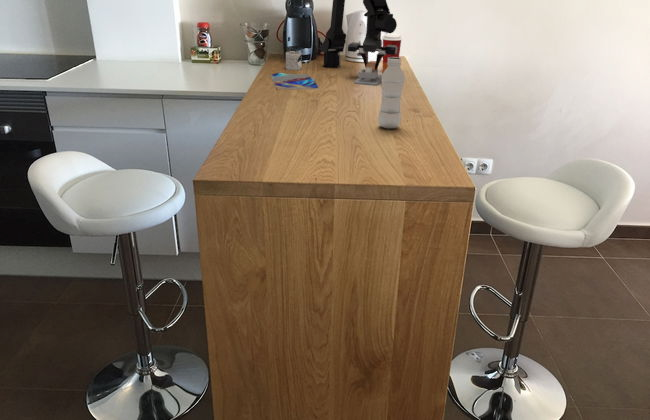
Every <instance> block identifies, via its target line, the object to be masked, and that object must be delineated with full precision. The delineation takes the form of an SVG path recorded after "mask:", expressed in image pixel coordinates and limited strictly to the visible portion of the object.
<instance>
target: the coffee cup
mask: <svg viewBox="0 0 650 420" xmlns="http://www.w3.org/2000/svg"><path fill="white" fill-rule="evenodd" d="M381 40H382V47H386V46H387V45H396V46H397V53H396V54H395V55H390V54H386V55H385V56H383V57H382V73H383V72H384V71H385V69H386V68H387V67H388V65H387V62H388V57H398V58H400V52H401V44H402V40H403V39H402V35H401V34H395V33H394V34H392V33H386V34H383V36H382V37H381Z"/></svg>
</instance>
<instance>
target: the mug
mask: <svg viewBox="0 0 650 420" xmlns="http://www.w3.org/2000/svg"><path fill="white" fill-rule="evenodd" d="M301 60H302V53H301V52H295V51H290V50H289V51H286V52H285V70H288V71H300V70H302V61H301Z"/></svg>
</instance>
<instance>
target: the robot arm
mask: <svg viewBox="0 0 650 420" xmlns="http://www.w3.org/2000/svg"><path fill="white" fill-rule="evenodd" d="M345 3H346V0H332V6H331V7H332V8H331V19H330V25H329V29H328V30H327V32H326V34H325V37H324V38H325V39H324V40H323V42H322V43H321V45H320V52H321V53H323V65H322V67H324V68H333V69H334V68H339V67H340V66H341V64H342V61H341V59H342V56H341V53H343V52H344V49H345V44H347V43H346V41H347V40H346V38H347V33H345V32H344V30H343V26H344V25H343V23H344V13H345ZM362 4H363V6H364V7H365V10H366V12H365V13H364V14H363V16H364V17H366V31H365V37H364V40H363V42H362V44H361V42H355V41H354V42H350V43H349V44H348V45H347V52H351V53H352V52H353V53H354V52H357V51H358V52H357V54H358V55H360V56H361V58H362V60H363V63H364V68H366V64H367V63H369V53H376V52H378V53H377V54H376V60H375V61H376V65H375V70H377V68H378V69H379V65H380V63H381V61H382V60H383V56H385V55H386V54H390V55H395V54H396V53H397V46H396V45H387V46H386V47H383V39H382V33H386V34H392V33H394V32H395V31H396V29H397V26H398V24H397V19H395V18H394V14H393V13H391V11H390V8H389V6H388V3H387V0H362Z"/></svg>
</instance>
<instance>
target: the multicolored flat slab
mask: <svg viewBox="0 0 650 420" xmlns="http://www.w3.org/2000/svg"><path fill="white" fill-rule="evenodd" d="M270 75H271V76H270V78H271V80H272V82H273V84H274V87H275V89H276V88H277V89H289V90H319V86H318V84H317V82H316V81H315V80H314V78H313V77H311V76H310V75H309V74H308V73H305V74H303V73H301V74H297V73H296V74H295V73H294V74H293V73H289V74H288V73H284V72H276V73H271V74H270ZM277 89H276V90H277Z"/></svg>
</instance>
